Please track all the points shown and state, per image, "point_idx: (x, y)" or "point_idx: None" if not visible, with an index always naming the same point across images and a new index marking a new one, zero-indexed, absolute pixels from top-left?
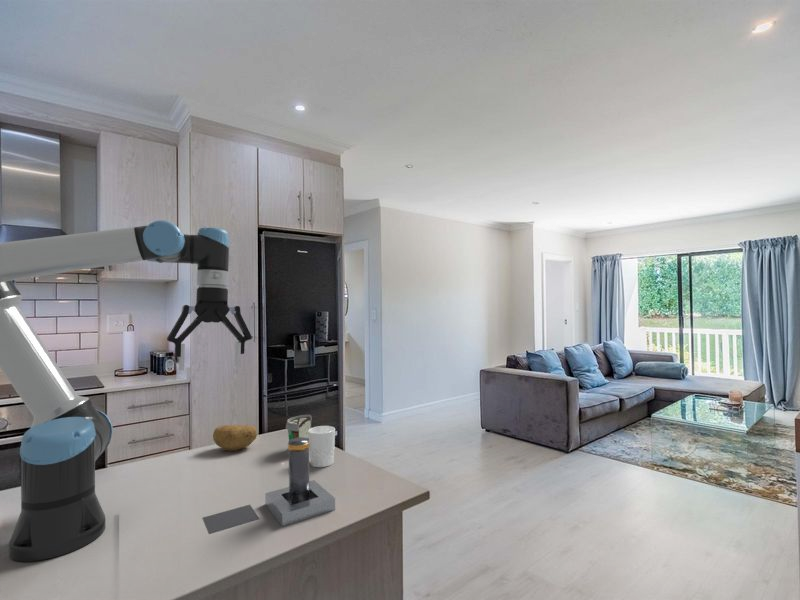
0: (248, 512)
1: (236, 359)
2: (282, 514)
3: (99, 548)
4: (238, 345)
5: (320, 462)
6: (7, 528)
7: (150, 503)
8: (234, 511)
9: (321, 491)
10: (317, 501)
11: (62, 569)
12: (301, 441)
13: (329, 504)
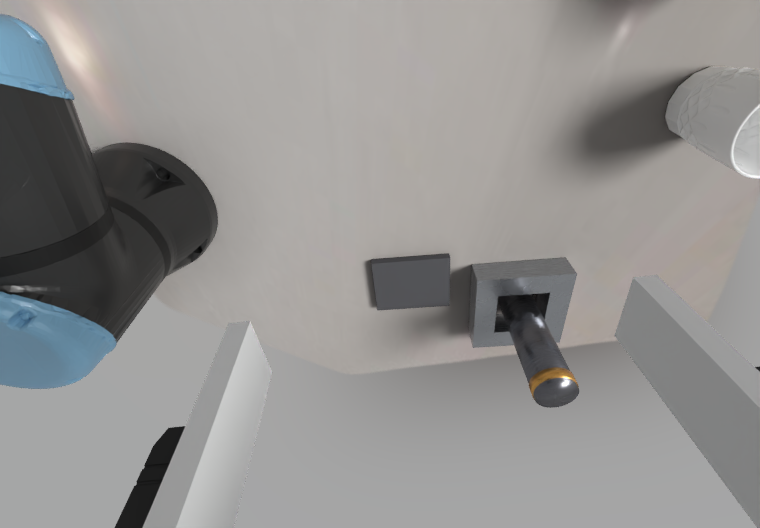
0: (440, 281)
1: (656, 353)
2: (473, 346)
3: (231, 261)
4: (747, 505)
5: (681, 137)
6: None
7: (270, 130)
8: (421, 268)
9: (557, 316)
10: None
11: (203, 288)
12: (557, 400)
13: None
